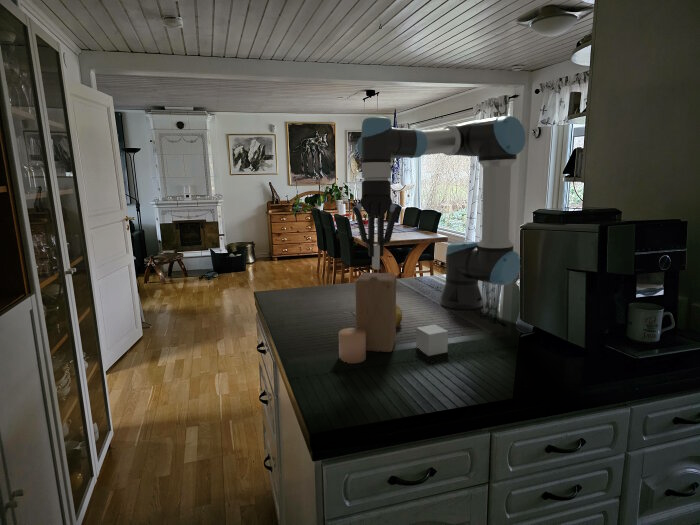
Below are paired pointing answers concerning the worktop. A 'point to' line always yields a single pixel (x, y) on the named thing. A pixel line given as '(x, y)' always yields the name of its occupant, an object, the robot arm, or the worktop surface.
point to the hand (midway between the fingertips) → (375, 268)
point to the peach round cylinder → (352, 345)
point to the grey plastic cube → (432, 339)
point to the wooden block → (377, 310)
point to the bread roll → (398, 315)
